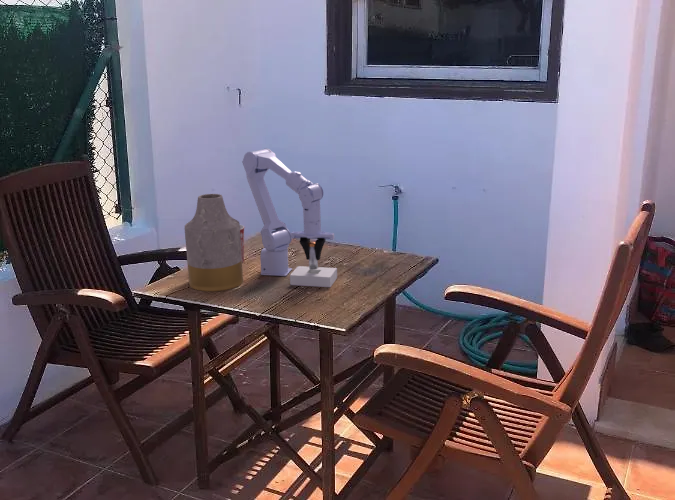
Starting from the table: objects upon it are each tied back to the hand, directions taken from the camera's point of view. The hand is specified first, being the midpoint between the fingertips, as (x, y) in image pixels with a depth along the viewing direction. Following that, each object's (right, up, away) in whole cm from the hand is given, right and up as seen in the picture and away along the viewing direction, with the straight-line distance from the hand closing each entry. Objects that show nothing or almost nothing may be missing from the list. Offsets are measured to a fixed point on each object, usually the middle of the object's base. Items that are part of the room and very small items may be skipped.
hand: (313, 259), depth 248 cm
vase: (-34, -8, +3) cm, 35 cm away
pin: (0, -3, +1) cm, 3 cm away
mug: (-32, -1, +26) cm, 42 cm away
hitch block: (0, -8, +2) cm, 8 cm away
